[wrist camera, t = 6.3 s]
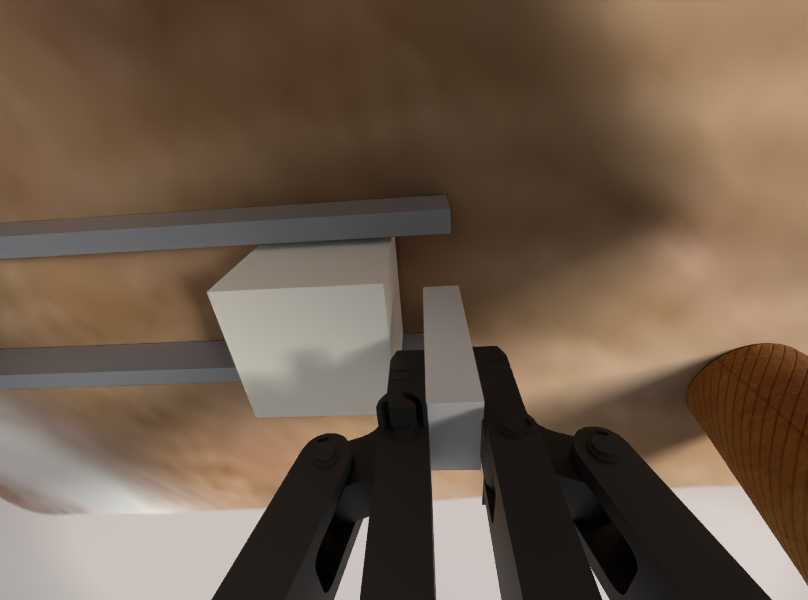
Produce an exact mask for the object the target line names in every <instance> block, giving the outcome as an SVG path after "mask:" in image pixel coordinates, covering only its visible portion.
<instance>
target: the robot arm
mask: <svg viewBox="0 0 808 600" xmlns="http://www.w3.org/2000/svg"><path fill="white" fill-rule="evenodd" d="M423 314H424V350H399V351H396V353H395V354H394V356H393V357H392V358H391V360H390V368H389V377H388V387H387V394H385V395H384V396H383V397H382V398H381V399H380V400H379V401H378V404H377V406H376V412H377V419H378V425H379V426H378V427H377V428H376V429H375V430H374V431H373V432H371V433H370V434H368V435H365V436H363V437H360V438H357V439H354V440H350V441H348V440H347V439H346V438H345V437H344V436H341V435H339V434H336V433H327V434H323V435H320V436H317V437H316V438H314V439H312V440H311V441H309V442H308V443H307V445H306V446H305V447H304V448H303V449H302V451H301V452H300V454H299V456H298V457H297V459H296V461H295V462H294V464H293V466H292V467H291V469H290V471H289V472H288V474H287V476H286V477H285V479H284V481H283V482H282V484H281V486H280V487H279V489H278V491H277V492H276V494H275V495H274V497H273V499H272V500H271V502H270V504H269V505H268V507H267V509H266V510H265V512H264V514H263V515H262V517H261V519H260V520H259V522H258V524H257V525H256V527H255V529H254V530H253V532H252V534H251V535H250V537H249V539H248V540H247V542H246V543H245V545H244V547H243V549H242V550H241V552H240V554H239V555H238V557H237V558H236V560H235V562H234V563H233V565H232V567H231V568H230V570H229V572H228V573H227V575H226V577H225V578H224V580H223V582H222V583H221V585H220V587H219V588H218V590H217V591H216V593H215V595H214V597H213V598H212V600H334V598H335V595H336V592H337V590H338V587H339V584H340V581H341V579H342V576H343V573H344V570H345V568H346V565H347V562H348V559H349V557H350V554H351V551H352V548H353V546H354V543H355V540H356V537H357V534H358V531H359V529H360V526H361V523H362V521H363V518H366V517H369V524H368V533H367V541H366V551H365V559H364V568H363V577H362V585H361V594H360V600H436V588H435V587H436V585H435V561H434V535H433V508H432V484H431V470H481V463H482V469H483V474H484V481H483V497H482V505H486V509H487V515H488V521H489V526H490V533H491V539H492V545H493V551H494V557H495V563H496V569H497V575H498V580H499V587H500V593H501V599H502V600H602V598H601V595H600V592H599V590H598V587H597V584H596V581H595V579H594V576H593V574H592V571H591V568H592V570H593V572H594V574H595V575H596V577H597V579H598V580H599V582H600V584H601V585H602V587H603V589H604V591H605V592H606V594H607V596H608V597H609V599H610V600H772V599H770V597H769V596H768V595H767V594H766V593H765V592H764V591H763V590H762V589H761V587H760V586H759V585H758V584H757V583H756V582H755V581H754V580H753V579H752V578H751V577H750V575H748V573H747V572H746V571H745V570H744V569H743V568H742V567H741V566H740V565H739V564H738V562H736V560H735V559H734V558H733V557H732V556H731V555H730V554H729V553H728V551H727V550H726V549H725V548H724V547H723V546H722V545H721V544H720V543H719V542H718V541H717V539H716V538H715V537H714V536H713V535H712V534H711V533H710V532H709V531H708V530H707V529H706V528H705V527H704V525H703V524H702V523H701V522H700V521H699V520H698V519H697V518H696V517H695V516H694V515H693V513H692V512H691V511H690V510H689V509H688V508H687V507H686V506H685V505H684V504H683V503H682V501H680V499H679V498H678V497H677V496H676V495H675V494H674V493H673V492H672V490H671V489H670V488H669V487H668V486H667V485H666V484H665V483H664V482H663V481H662V480H661V478H660V477H659V476H658V475H657V474H656V473H655V472H654V471H653V470H652V469H651V468H650V466H649V465H648V464H647V463H646V462H645V461H644V460H643V459H642V458H641V457H640V456H639V455H638V453H637V452H636V451H635V450H634V449H633V448H632V447H631V446H630V445H629V444H628V443H627V442H626V441H625V440H624V439H623V438H621V437H620V436H619V435H618V434H616V433H614V432H612V431H610V430H608V429H604V428H600V427H584V428H582V429H580V430H578V431H577V432H576V434H575V435H574V436H570V435H566V434H562V433H557V432H554V431H551V430H548V429H545V428H544V427H542V426H540V425H538V424H537V423H536V422H535V420H534V419H533V418H532V417H531V416H530V415H528V414H527V412H526V410H525V407H524V404H523V401H522V398H521V396H520V393H519V390H518V387H517V384H516V381H515V378H514V377H513V373H512V370H511V368H510V364H509V361H508V358H507V355H506V354H505V353H504V352H503V351H502V350H501V349H500V348H499V347H498V346H484V347H472V344H471V339H470V335H469V330H468V326H467V321H466V317H465V312H464V308H463V303H462V299H461V294H460V290H459V285H456V286H435V287H423ZM590 567H591V568H590Z"/></svg>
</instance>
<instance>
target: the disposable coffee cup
mask: <svg viewBox="0 0 808 600" xmlns="http://www.w3.org/2000/svg"><path fill="white" fill-rule="evenodd" d="M687 404H688V408H689V409H690V411H691V412H692V414H693V415H694V416H695V418H696V419H697V421H698V422H699V424H700V425H701V427H702V428H703V430H704V431H705V432H706V434H707V435H708V437H709V439H710V440H711V441H712V443H713V444H714V446H715V448H716V449H717V450H718V452H719V453H720V455H721V456H722V458H723V459H724V461H725V462H726V464H727V466H728V467H729V469H730V470H731V472H732V473H733V474H734V476H735V477H736V479H737V480H738V482H739V483H740V485H741V486H742V488H743V489H744V491H745V492H746V494H747V495H748V497H749V498H750V499H751V501H752V503H753V504H754V505H755V507H756V509H757V510H758V511H759V513H760V514H761V516H762V518H763V519H764V520H765V522H766V524H767V525H768V526H769V528H770V529H771V531H772V533H773V534H774V536H775V537H776V538H777V540H778V541H779V543H780V544H781V546H782V548H783V549H784V550H785V552H786V553H787V554H788V556H789V558H790V559H791V561H792V562H793V564H794V565H795V567H796V568H797V570H798V571H799V573H800V574H801V575H802V577H803V579H804V580H805V582H806V584H807V585H808V356H807V355H805V354H803V353H801V352H799V351H797V350H796V349H794V348H792V347H789V346H786V345H782V344H771V343H769V344H757V345H753V346H749V347H744V348H741V349H738V350H735V351H732V352H730V353H728V354H726V355H724V356H722V357H720V358H719V359H717V360H715V361H714V362H712V363H711V364H709V365H708V366H707V367H706V368H704V369H703V370H702V371H701V372H700V373H699V374H698V375H697V377H696V378H695V379H694V380H693V382H692V384H691V385H690V387H689V390H688V393H687Z"/></svg>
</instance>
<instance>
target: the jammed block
mask: <svg viewBox="0 0 808 600" xmlns="http://www.w3.org/2000/svg"><path fill="white" fill-rule="evenodd" d="M207 294H208V297H209V299H210V302H211V304H212V307H213V310H214V312H215V315H216V317H217V320H218V322H219V325H220V328H221V330H222V333H223V335H224V338H225V340H226V343H227V345H228V348H229V351H230V353H231V356H232V358H233V361H234V363H235V366H236V369H237V371H238V374H239V376H240V379H241V381H242V384H243V386H244V389H245V392H246V394H247V397H248V399H249V402H250V404H251V407H252V410H253V412H254V415H255V417H256V418H264V417H305V416H347V415H377V412H376V406H377V404H378V401H379V400H380V399H381V398H382V397H383V396H384V395H385V394H387V387H388V377H389V368H390V360H391V358H392V357H393V356H394V354H395V353H396V351H399V350H402V339H403V325H402V314H401V302H400V291H399V279H398V268H397V256H396V245H395V237H379V238H361V239H343V240H326V241H308V242H291V243H273V244H259V245H258V246H257V247H256V248H255V249H254V250H253V251H252V252H250V253H249V254H248V255H247V256H246V257H245V258H244V259H243V260H242V261H241V262H239V263H238V264H237V265H236V266H235V267H234V268H233V269H232V270H231V271H229V272H228V273H227V274H226V275H225V276H224V277H223V278H222V279H221V280H219V281H218V282H217V283H216V284H215V285H214V286H213V287H212V288H211V289H209V290H208V291H207Z"/></svg>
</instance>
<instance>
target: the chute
mask: <svg viewBox="0 0 808 600" xmlns="http://www.w3.org/2000/svg"><path fill="white" fill-rule="evenodd" d="M449 233H451V209H450V206H449V202H448V199H447V196H446V195H432V196H416V197H400V198H385V199H369V200H353V201H338V202H322V203H307V204H291V205H275V206H260V207H244V208H228V209H213V210H197V211H181V212H166V213H150V214H135V215H119V216H103V217H88V218H72V219H56V220H41V221H25V222H9V223H0V259H9V258H27V257H44V256H62V255H80V254H97V253H115V252H132V251H150V250H167V249H185V248H203V247H220V246H238V245H255V244H273V243H291V242H308V241H326V240H343V239H361V238H379V237H396V236H414V235H431V234H449ZM402 350H424V333H405V334H403V339H402ZM226 382H242V381H241V379H240V376H239V374H238V371H237V369H236V366H235V363H234V361H233V358H232V356H231V353H230V351H229V348H228V345H227V343H226V340H225V341H200V342H174V343H148V344H123V345H97V346H71V347H46V348H20V349H0V390H1V389H33V388H65V387H97V386H130V385H162V384H194V383H226Z"/></svg>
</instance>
